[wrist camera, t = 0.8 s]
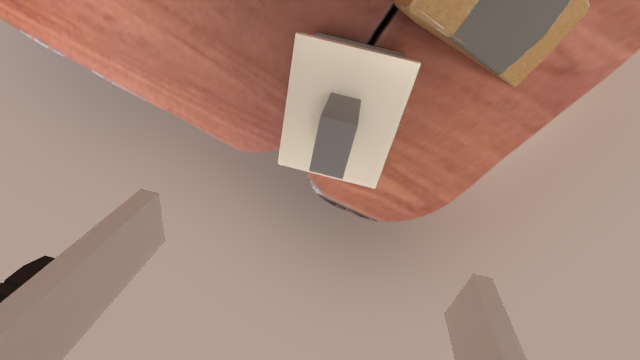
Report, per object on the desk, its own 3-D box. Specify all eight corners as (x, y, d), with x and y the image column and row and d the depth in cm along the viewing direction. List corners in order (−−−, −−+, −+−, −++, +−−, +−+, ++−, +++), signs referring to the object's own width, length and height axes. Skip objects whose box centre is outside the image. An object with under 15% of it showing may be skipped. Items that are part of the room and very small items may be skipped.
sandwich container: (513, 91, 30) (614, 156, 18) (390, 6, 28) (404, 12, 15) (594, 6, 26) (806, 13, 13) (455, -102, 24) (548, -218, 11)
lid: (301, 30, 25) (273, 42, 18) (417, 58, 24) (434, 81, 18) (283, 154, 31) (257, 198, 24) (375, 177, 31) (375, 228, 24)
